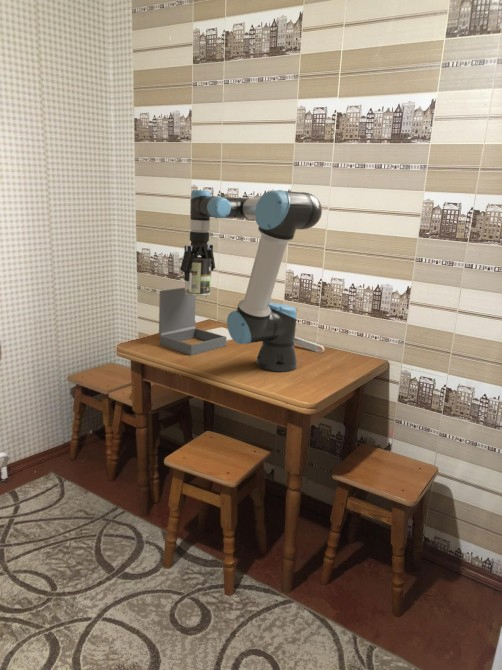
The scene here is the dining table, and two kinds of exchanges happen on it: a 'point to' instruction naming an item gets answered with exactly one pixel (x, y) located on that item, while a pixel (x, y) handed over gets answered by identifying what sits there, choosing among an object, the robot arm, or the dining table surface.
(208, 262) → the coffee can
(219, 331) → the mat
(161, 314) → the case
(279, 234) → the robot arm
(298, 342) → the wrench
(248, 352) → the dining table surface
